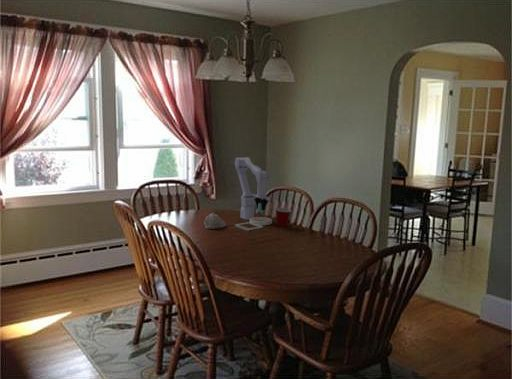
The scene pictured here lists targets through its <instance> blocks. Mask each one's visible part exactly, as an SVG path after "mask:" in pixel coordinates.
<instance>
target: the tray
mask: <svg viewBox="0 0 512 379" xmlns="http://www.w3.org/2000/svg"><path fill="white" fill-rule="evenodd" d="M244 225H252V226H254V227H245V226H244ZM234 228H236V229H240V230H242V231H246V232H250V231H252V230H253V231H254V230H258V229H262V228H264V225H258V224H254V223H251V222H250V221H246V222H242V223H236V224H235V223H234Z"/></svg>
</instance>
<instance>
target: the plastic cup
mask: <svg viewBox="0 0 512 379" xmlns="http://www.w3.org/2000/svg"><path fill="white" fill-rule="evenodd" d="M274 210H275V214H276V215H275V216H276V221H277V222H276V223H277V227H281V228H285V227H287V226H288V224H289V219H290V215H291V212H292V209H289V208H285V207H275V208H274Z"/></svg>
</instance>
